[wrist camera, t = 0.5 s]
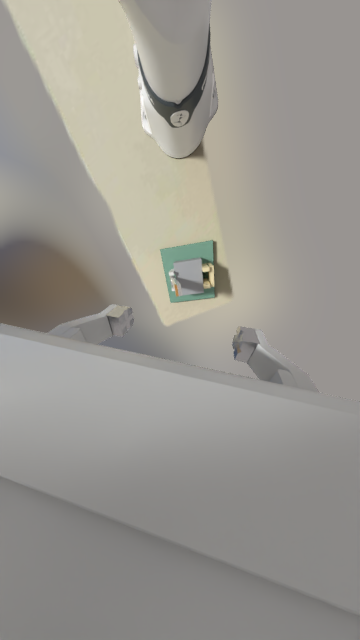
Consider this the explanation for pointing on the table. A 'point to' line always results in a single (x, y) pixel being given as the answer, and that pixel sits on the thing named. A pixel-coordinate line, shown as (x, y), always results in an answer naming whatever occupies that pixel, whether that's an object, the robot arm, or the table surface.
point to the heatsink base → (188, 254)
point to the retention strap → (176, 286)
